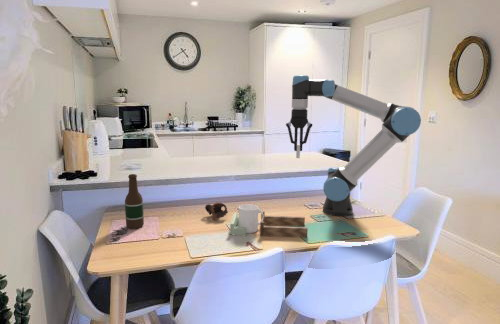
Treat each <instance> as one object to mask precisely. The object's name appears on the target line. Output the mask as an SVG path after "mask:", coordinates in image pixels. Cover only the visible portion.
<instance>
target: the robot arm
mask: <svg viewBox="0 0 500 324" xmlns="http://www.w3.org/2000/svg"><path fill="white" fill-rule="evenodd" d="M309 77H310V76H308V75H307V74H306V75H303V74H302V75H301V74H299V75H294V76H293V77H292V84H291V88H292V89H291V116H290V121H289V122H286V123H285V126H286V127H287V130H288V131H287V132H288V135H289V139H290V143H291V144H294V146H293V150H294V152H295V154H296V155H295V158H296V159H300V156H301V152H302V151H303V145H304V144H306V143H307V141H308V138H309V134H310V131H311V128H312V127H313V123H311V122H309V119H308V107H309V97H325V98H327V99H329V100H331V101H334V102H337V103H339V104H342V105H345V106H347V107H349V108H352V109H355V110H357V111H360V112H361V113H364V114H368V115H369V116H372V117H375V118H378V119H379V120H380V121H381V122H382V124H381V130H379V132H378V133H377V134H376V135H375V136H374V137H372V138H371V139H370V141H369V142H367V143H366V145H365V146H364V147H363V148H362V149H361V150H360V151H358V153H357V154H356V155H354V156H353V157H352V158H351V159H350V161H349V162H348V163H346V165H344V166H343V167H329V168H328V170H327V178H326V180H325V181H324V183H323V186H322V187H323V193H324V195H325V200H324V203H323V204H322V212H323V213H325V214H327V215H330V216H335V217H347V216H351V215H352V214H353V211H354V210H353V208H354V207H353V204H352V200H351V192H352V191H353V190H354V189H355V187H357V186H358V182H359V181H358V180H359V179H360V178H361V177H362V176H363V175H364V174H365V173H367V172H368V171H369V170H370V169H371V168H372V167H373V166H374V165H375V164H376V163H377V162H378V161H379V160H380V159H382V158H383V157H384V155H386V154H387V153H388V152H389V150H391V149H392V148H393V146H395V145H396V144H397V143H398V144H399V143H403V142H404V141H405V140H407V138H408V137H409V136H411V135H413V134H415V133H416V132H417V131H418V130H419V128H420V126H421V124H422V118H421V115H420V113H419V111H417V110H416V109H415V108H413V107H411V106H405V105H398V104H395V103H392V102H390V103H386V102H383V101H381V100H378V99H376V98H373V97H370V96H367V95H365V94H363V93H359V92H357V91H354V90H352V89H349V88H346V87H344V86H342V85H338V84H336V83H335V80H333V79H310V78H309ZM291 126H292V127H293V128H294V138H293V133H292V128H291ZM305 127H307V128H306V131H305V135H304V128H305ZM298 129H299V132H298ZM298 133H299V143H298ZM303 137H304V138H303Z"/></svg>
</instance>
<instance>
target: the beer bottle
mask: <svg viewBox="0 0 500 324" xmlns="http://www.w3.org/2000/svg"><path fill="white" fill-rule="evenodd" d="M127 177H128V193H127V194H126V196H125V199H124V213H125V226H126V228H127V229H129V230H139V229H141V228H143V226H144V221H145V219H144V218H145V217H144V199H143V197H142V196H143V195H142V194H141V193H140V192H139V188H138V181H137V178H138V175H137V174H134V173H131V174H129V175H128V176H127Z"/></svg>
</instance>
